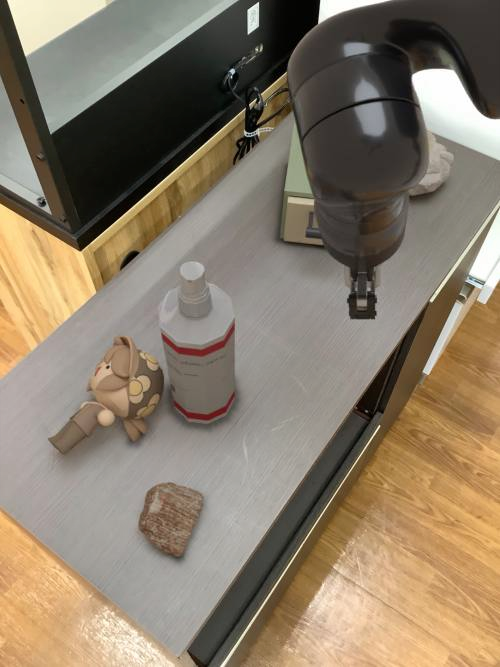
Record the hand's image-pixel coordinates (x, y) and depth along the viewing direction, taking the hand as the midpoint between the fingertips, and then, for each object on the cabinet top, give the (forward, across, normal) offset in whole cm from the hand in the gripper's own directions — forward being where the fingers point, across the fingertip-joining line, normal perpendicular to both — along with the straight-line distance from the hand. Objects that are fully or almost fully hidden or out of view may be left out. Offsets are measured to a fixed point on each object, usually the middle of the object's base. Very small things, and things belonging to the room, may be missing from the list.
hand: (364, 262), depth 68 cm
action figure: (+5, -18, +30) cm, 35 cm away
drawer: (+23, +13, +6) cm, 27 cm away
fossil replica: (+31, +21, -7) cm, 38 cm away
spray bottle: (+9, -14, +20) cm, 26 cm away
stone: (+2, -29, +21) cm, 36 cm away
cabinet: (+26, +16, +6) cm, 31 cm away
